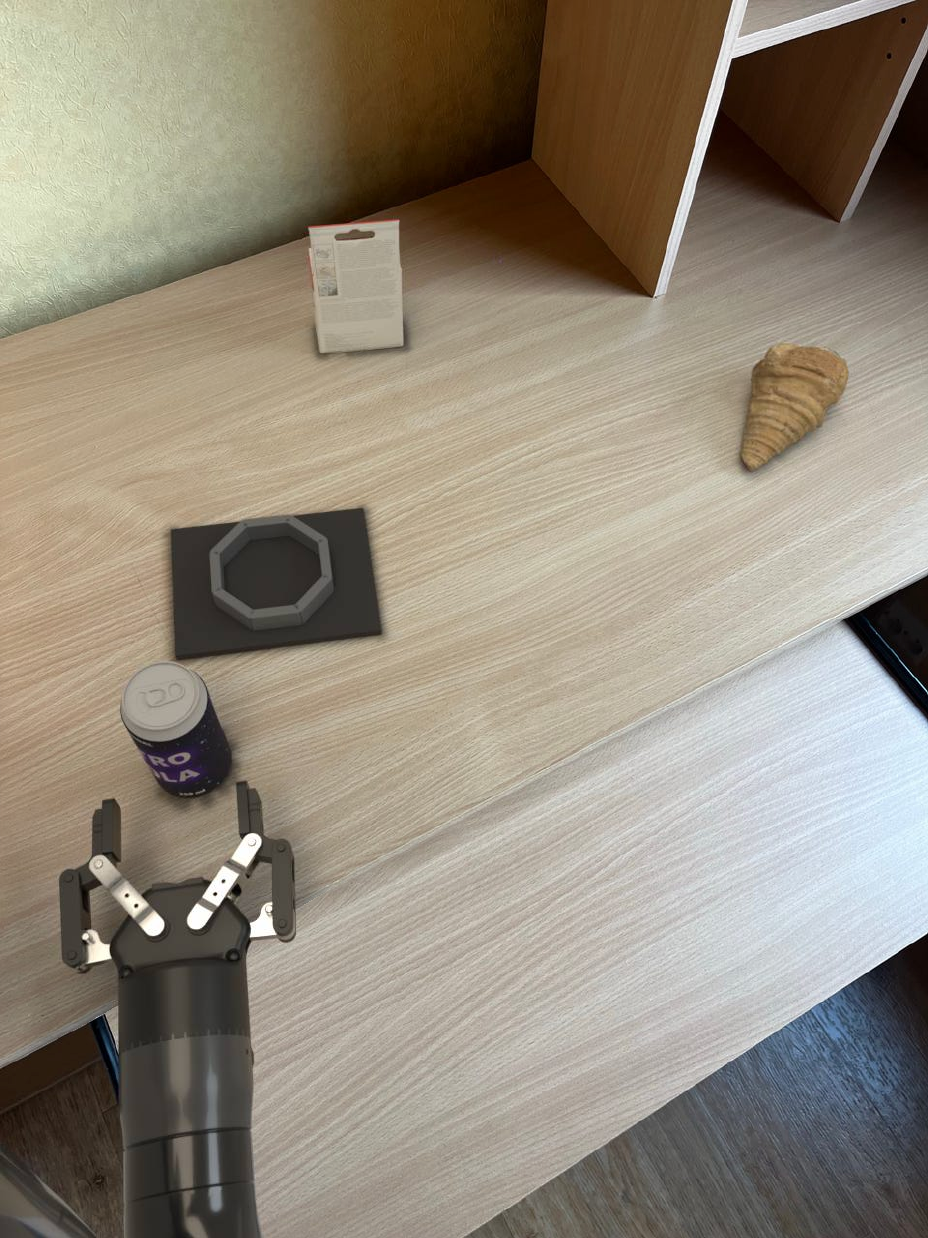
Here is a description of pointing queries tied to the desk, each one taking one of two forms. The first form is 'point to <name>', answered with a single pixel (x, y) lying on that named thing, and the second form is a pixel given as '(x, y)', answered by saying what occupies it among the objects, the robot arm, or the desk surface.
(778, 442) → the seashell
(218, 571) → the socket pad
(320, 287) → the ink box
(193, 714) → the beverage can
